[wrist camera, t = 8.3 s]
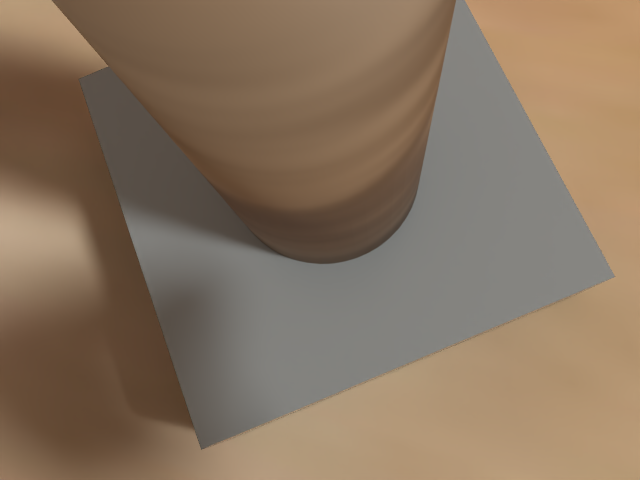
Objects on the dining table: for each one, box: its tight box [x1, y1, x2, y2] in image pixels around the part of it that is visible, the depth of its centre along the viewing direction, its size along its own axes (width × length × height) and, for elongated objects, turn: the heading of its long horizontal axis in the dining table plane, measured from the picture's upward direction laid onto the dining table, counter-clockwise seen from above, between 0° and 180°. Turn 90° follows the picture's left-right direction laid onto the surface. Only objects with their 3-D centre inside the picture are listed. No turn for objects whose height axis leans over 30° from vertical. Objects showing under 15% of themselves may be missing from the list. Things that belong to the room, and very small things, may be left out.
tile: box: [79, 0, 615, 450], centre depth 19 cm, size 12×12×3 cm
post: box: [52, 0, 456, 264], centre depth 12 cm, size 6×6×12 cm
